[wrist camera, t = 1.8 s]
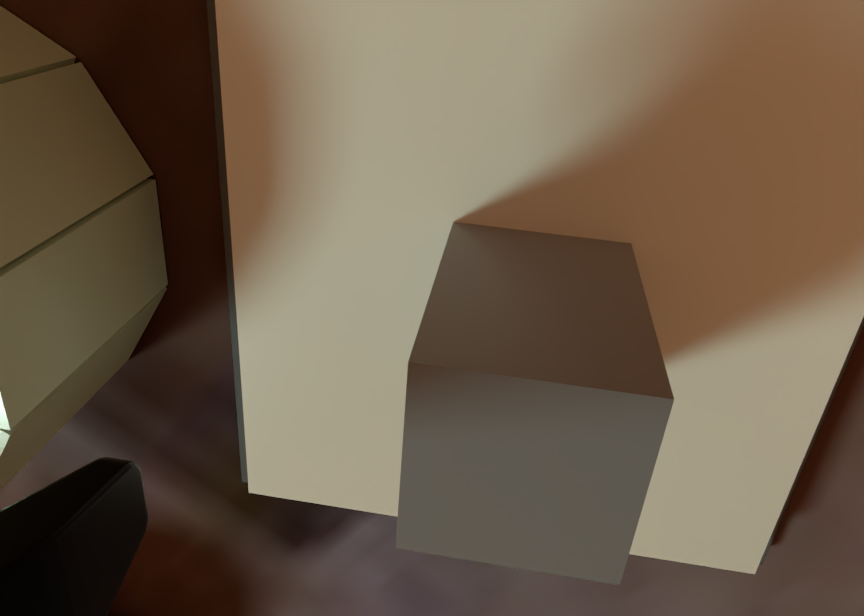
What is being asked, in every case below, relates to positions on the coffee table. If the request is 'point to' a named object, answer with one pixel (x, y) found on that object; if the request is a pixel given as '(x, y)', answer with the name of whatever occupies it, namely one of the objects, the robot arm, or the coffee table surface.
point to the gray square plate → (230, 273)
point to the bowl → (66, 242)
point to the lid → (544, 265)
